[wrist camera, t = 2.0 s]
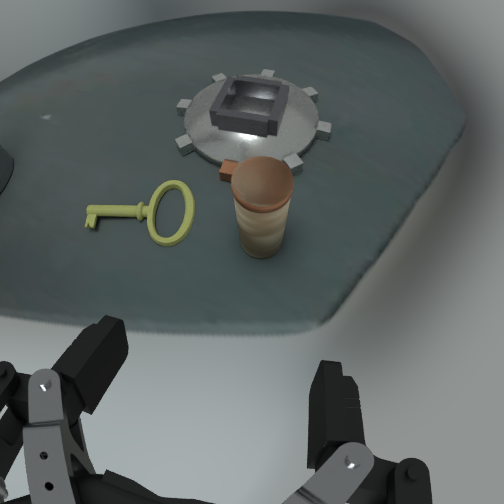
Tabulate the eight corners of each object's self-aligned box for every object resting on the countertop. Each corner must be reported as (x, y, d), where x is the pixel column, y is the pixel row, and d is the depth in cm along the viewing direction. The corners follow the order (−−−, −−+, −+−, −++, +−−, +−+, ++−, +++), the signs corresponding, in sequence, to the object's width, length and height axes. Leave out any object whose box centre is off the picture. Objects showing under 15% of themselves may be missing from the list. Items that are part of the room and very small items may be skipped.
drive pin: (234, 253, 28) (223, 199, 19) (246, 215, 30) (241, 151, 20) (277, 264, 28) (286, 213, 18) (286, 225, 29) (298, 163, 20)
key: (90, 213, 31) (82, 205, 29) (190, 180, 32) (186, 169, 30) (95, 271, 28) (85, 265, 26) (204, 238, 29) (200, 230, 27)
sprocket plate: (149, 167, 32) (138, 145, 28) (206, 70, 38) (203, 50, 34) (317, 201, 30) (324, 180, 26) (335, 91, 36) (340, 69, 32)
